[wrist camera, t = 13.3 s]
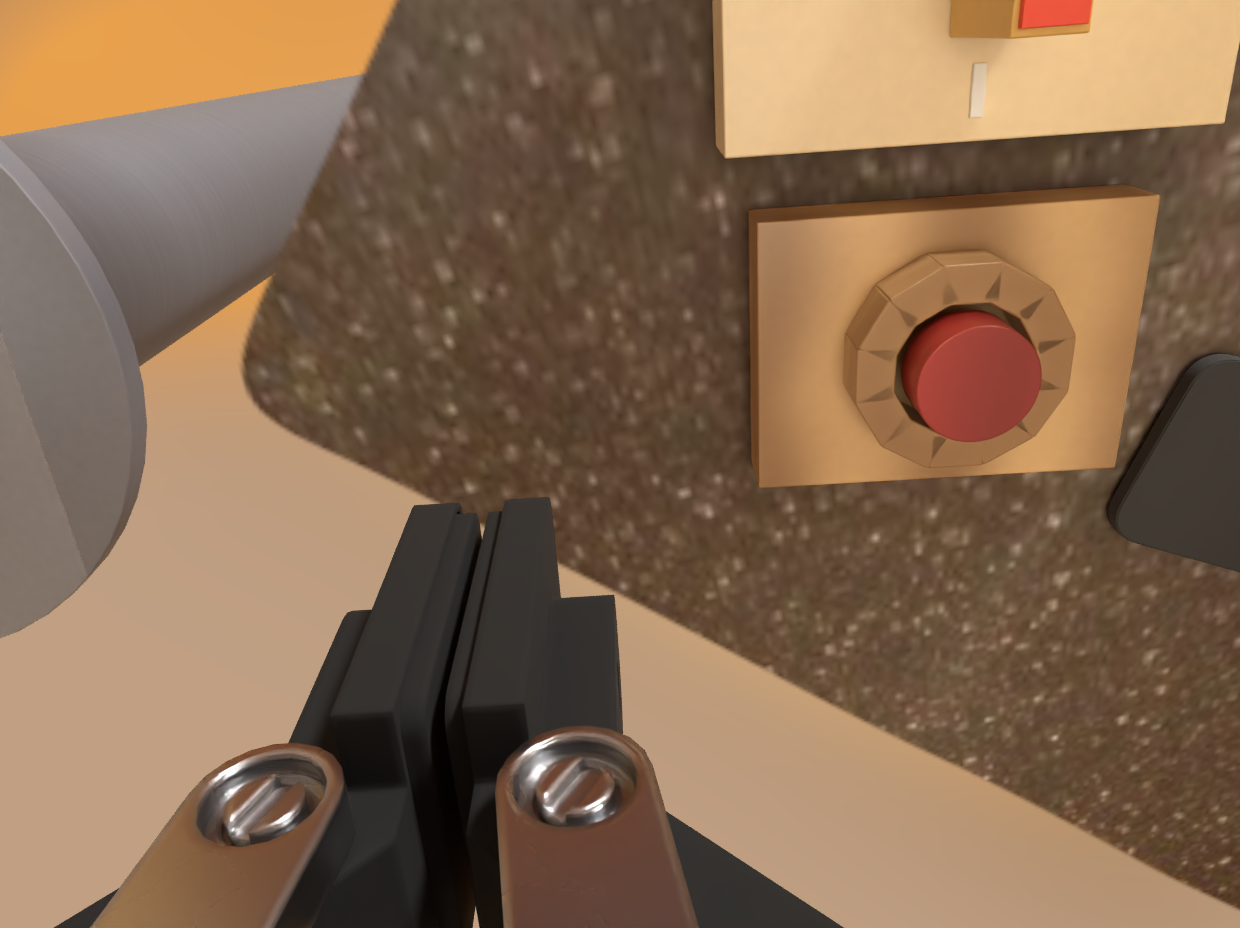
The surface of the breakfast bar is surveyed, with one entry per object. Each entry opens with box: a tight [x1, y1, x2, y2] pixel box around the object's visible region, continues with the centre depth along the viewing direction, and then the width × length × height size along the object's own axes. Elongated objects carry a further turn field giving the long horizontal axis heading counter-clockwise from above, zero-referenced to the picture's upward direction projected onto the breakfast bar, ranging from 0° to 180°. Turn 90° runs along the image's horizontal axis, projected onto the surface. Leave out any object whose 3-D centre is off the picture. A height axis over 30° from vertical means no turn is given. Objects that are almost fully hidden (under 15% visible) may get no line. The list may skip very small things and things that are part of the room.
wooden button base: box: [749, 184, 1160, 488], centre depth 30 cm, size 12×9×4 cm
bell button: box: [901, 310, 1042, 442], centre depth 28 cm, size 4×4×2 cm
